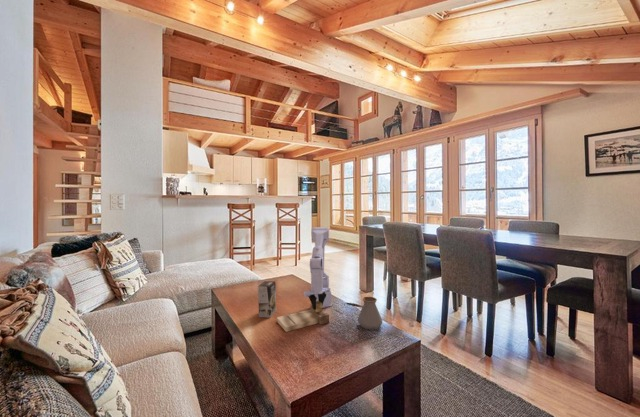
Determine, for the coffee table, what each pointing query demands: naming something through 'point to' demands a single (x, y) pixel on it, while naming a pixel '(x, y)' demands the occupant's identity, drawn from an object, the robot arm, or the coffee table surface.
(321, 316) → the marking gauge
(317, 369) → the coffee table surface
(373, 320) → the coffee pot
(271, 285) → the coffee box
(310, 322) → the pine board
